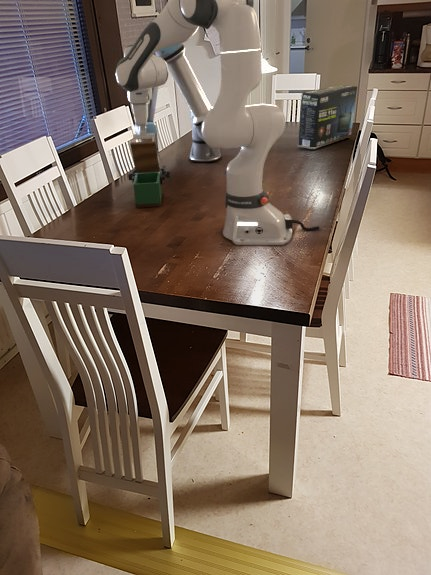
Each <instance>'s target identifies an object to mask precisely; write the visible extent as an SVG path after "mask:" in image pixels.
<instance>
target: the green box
mask: <svg viewBox="0 0 431 575" xmlns="http://www.w3.org/2000/svg"><path fill="white" fill-rule="evenodd" d="M132 187H133V192H134V200H135V207H136V209H137V208H138V209H139V208H150V207H152V208H153V207H162V197H163V190H162V185H160V172H151V173H136V176H135V180H134V182H133V186H132Z"/></svg>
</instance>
